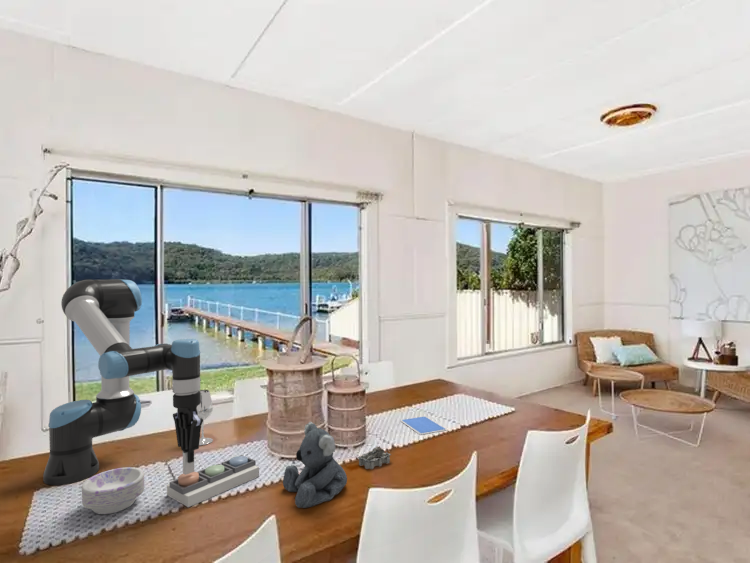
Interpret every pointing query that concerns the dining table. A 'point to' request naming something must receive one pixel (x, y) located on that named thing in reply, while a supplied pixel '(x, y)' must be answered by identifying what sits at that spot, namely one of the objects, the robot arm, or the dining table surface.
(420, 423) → the tablet computer
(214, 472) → the button sage
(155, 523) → the dining table surface
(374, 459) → the egg carton
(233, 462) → the button slate
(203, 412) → the wineglass
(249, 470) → the console
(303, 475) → the koala plush
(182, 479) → the button terracotta
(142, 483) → the paper bowls
